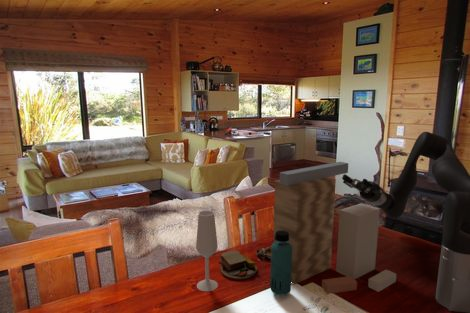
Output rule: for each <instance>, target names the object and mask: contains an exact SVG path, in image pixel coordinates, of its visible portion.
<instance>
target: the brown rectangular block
mask: <svg viewBox="0 0 470 313" xmlns="http://www.w3.org/2000/svg"><path fill="white" fill-rule="evenodd" d="M357 287H358V281H357V280H356V279H354V278H352V277H351V276H340V277H334V278H324V279H322V281H321V289H322V288H323V289H322V290H323V291H324V292H325V294H327V295H328V294H329V295H330V293H331V294H337V293H344V292H345V293H346V292H350V291H357Z"/></svg>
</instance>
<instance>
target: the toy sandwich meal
mask: <svg viewBox="0 0 470 313" xmlns="http://www.w3.org/2000/svg"><path fill="white" fill-rule="evenodd" d="M218 264H219V265H221V266H220V272H221V273H222V274H223V275H224V276H225V277H226V278H228V279H232V280H246V279H249V278H251V277H253V276H254V275H255V274H256V273H257V271H258V267H257V265H256V262H254V261H253V260H251V258H250V257H249V256H248V255H247V254H245V253H243V254H241V253H240V251H239V250H229V251H225V252H223V253H221V255H220V259H218Z"/></svg>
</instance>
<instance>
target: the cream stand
mask: <svg viewBox="0 0 470 313" xmlns="http://www.w3.org/2000/svg"><path fill="white" fill-rule="evenodd" d="M380 209H381V208H378V207H377V206H372V205H368V204H366V203H363V202H362V203H358V204H355V205H351V206H348V207H344V208H341V209H339V218H338V220H339V221H338V235H337V252H336V264H335V265H336V266H335V271H336V272H337V273H339V274H341V275H343V276H344V277H347V276H351V277H352V278H354V279H355V280H356V279H359V278H360V277H362V276H365V275H367V274H368V273H370V272H372V271H374V270H375V269H376V262H377V260H376V259H377V258H376V257H377V249H378V237H379V236H378V235H379V223H380V222H379V221H380V213H381V212H380Z"/></svg>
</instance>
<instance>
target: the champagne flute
mask: <svg viewBox="0 0 470 313" xmlns="http://www.w3.org/2000/svg"><path fill="white" fill-rule="evenodd" d="M215 216H216V215H215V212H214V211H212V210H202V211H201V210H200V211H199V212H198V215H197V218H198V219H197V229H196V230H197V231H196V241H195V249H196V251H197V252H198V254H199V255H200V256H201V257H204V266H205V267H204V271H205V278H204V279H203V280H200V281H199V282H197V284H196V287H197V289H198V290H199V291H202V292H211V291H214V290H216V289H217V288H218V287H219V283H218V282H217V281H216V280H213V279H210V257H212V256H213V255H214V254H215V253H216V252H217V250H218V238H217V237H218V236H217V229H216V228H217V227H216V219H215V218H216V217H215Z"/></svg>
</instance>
